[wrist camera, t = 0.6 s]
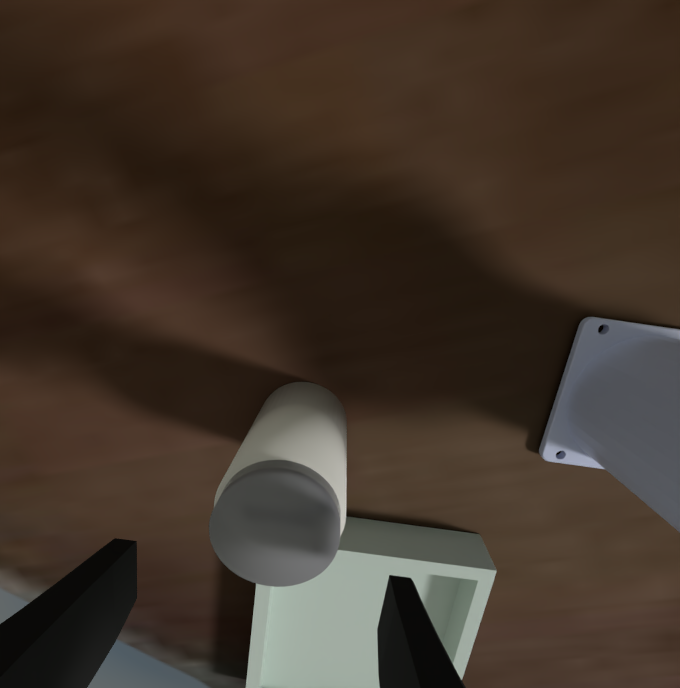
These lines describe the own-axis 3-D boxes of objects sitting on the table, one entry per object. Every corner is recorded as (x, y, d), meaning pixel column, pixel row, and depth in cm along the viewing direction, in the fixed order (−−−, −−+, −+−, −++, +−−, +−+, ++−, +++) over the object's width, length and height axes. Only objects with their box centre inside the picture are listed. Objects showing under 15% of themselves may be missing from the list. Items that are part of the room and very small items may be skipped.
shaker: (352, 388, 19) (356, 483, 11) (340, 466, 20) (335, 599, 13) (263, 375, 19) (206, 462, 11) (256, 454, 20) (200, 581, 12)
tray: (479, 534, 21) (496, 570, 19) (430, 704, 25) (438, 752, 23) (270, 506, 21) (260, 539, 19) (252, 681, 25) (241, 728, 22)
